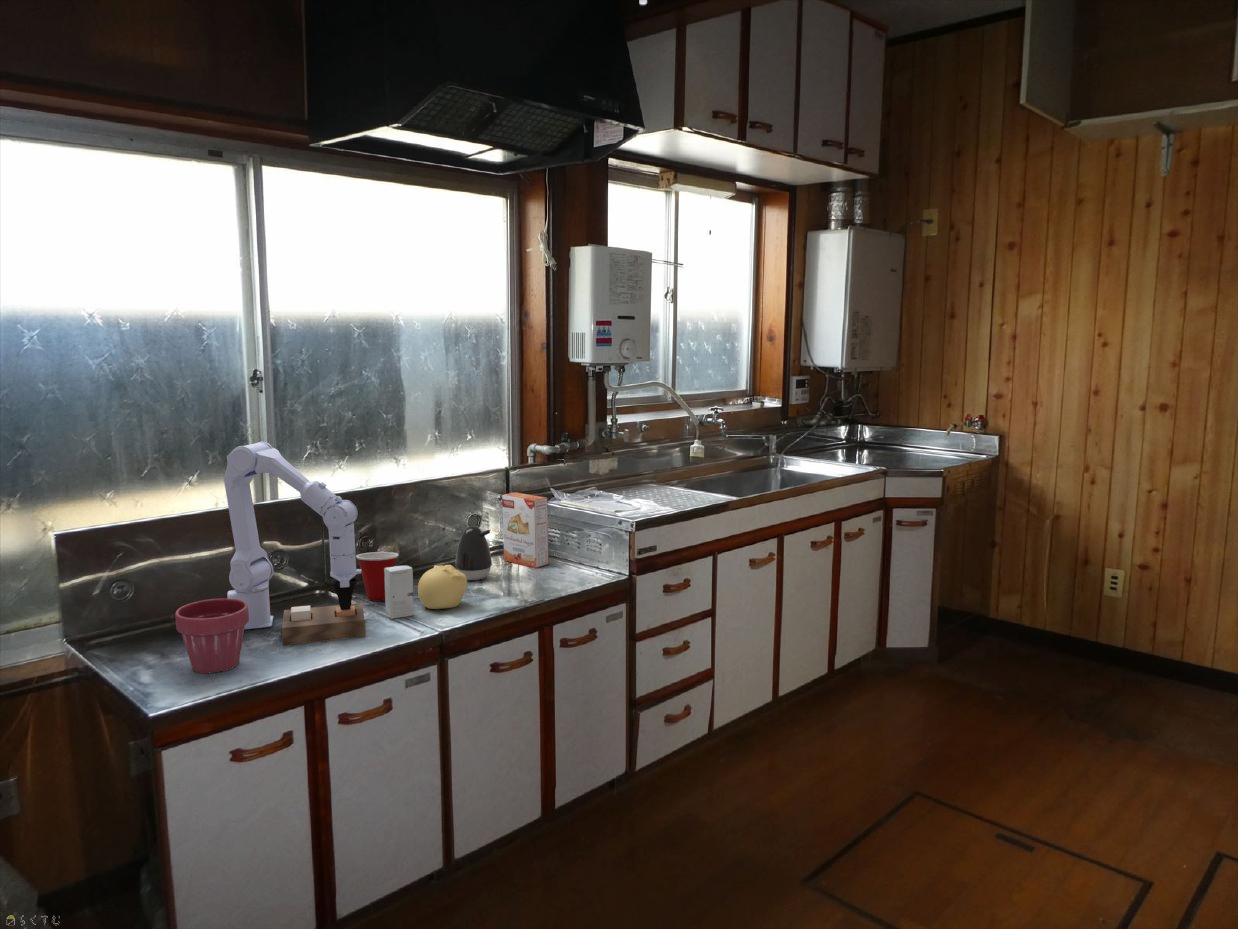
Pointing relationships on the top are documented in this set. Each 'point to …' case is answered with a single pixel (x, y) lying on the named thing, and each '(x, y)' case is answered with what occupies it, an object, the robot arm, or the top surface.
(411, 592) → the skincare box
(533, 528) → the cracker box
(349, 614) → the terracotta key
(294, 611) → the cream key
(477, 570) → the pump dispenser
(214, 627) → the plant pot
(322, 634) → the walnut panel
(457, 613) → the top surface
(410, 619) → the top surface
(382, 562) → the plastic cup
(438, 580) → the sculpture
